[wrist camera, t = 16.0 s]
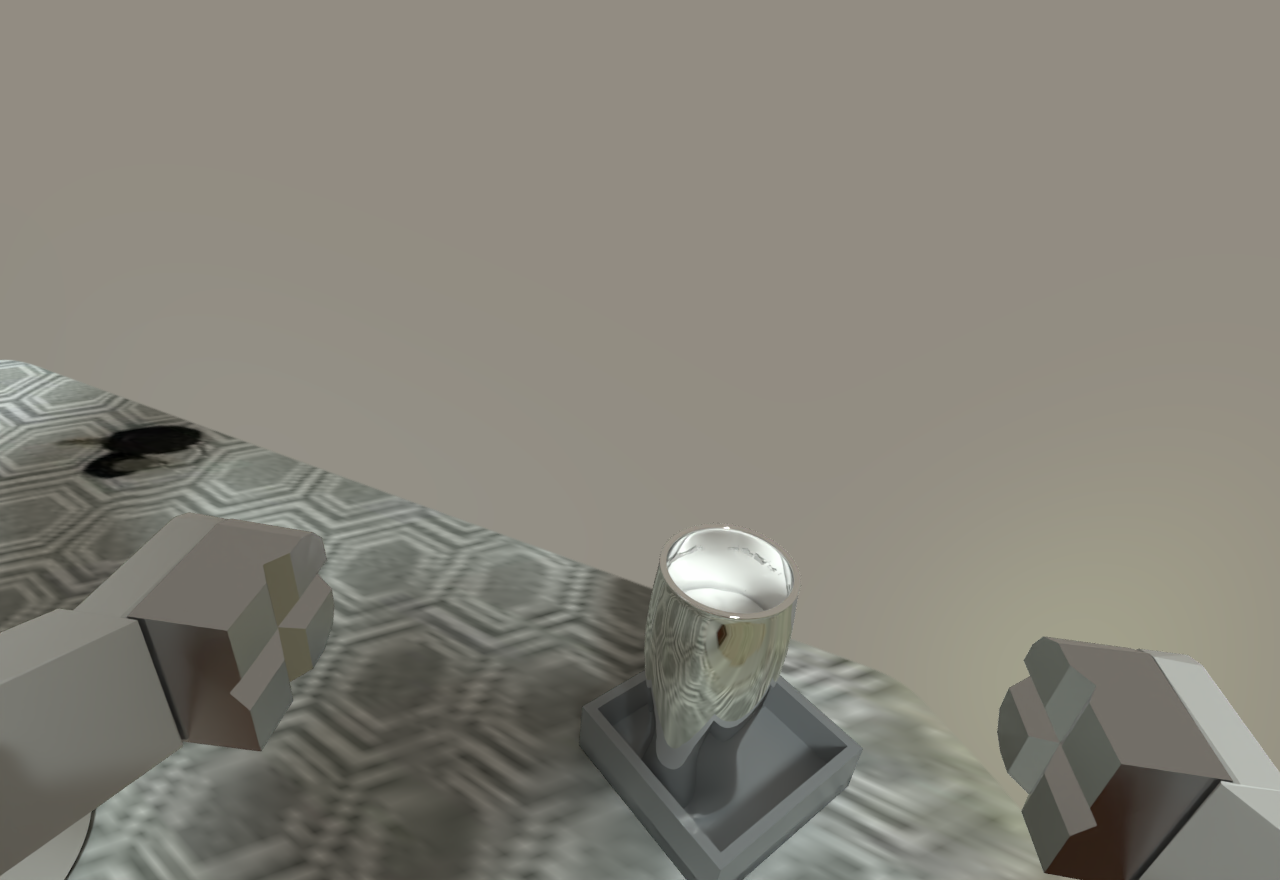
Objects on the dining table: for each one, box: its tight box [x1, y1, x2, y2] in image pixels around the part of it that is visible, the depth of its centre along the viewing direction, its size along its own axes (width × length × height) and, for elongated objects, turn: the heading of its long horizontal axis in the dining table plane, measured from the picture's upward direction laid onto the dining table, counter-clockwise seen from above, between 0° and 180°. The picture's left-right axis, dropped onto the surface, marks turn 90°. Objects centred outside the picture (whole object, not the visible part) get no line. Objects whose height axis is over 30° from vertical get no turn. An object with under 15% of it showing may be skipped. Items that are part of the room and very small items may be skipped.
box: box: [579, 670, 863, 880], centre depth 42 cm, size 11×11×4 cm
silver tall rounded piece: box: [636, 523, 801, 819], centre depth 38 cm, size 7×7×15 cm
